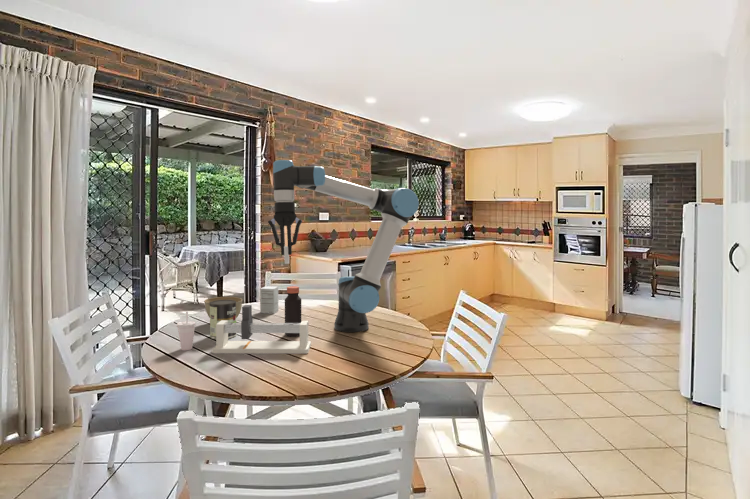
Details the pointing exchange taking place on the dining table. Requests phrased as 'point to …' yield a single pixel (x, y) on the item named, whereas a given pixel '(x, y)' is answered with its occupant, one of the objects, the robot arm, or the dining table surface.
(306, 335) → the slider rail stand
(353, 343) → the dining table surface
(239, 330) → the pipe
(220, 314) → the coffee can
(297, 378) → the dining table surface
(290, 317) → the bottle
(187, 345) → the smoothie
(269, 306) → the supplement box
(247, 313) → the dark grey tall block
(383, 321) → the dining table surface
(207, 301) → the planter bowl
